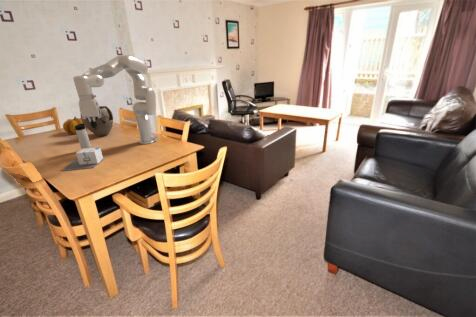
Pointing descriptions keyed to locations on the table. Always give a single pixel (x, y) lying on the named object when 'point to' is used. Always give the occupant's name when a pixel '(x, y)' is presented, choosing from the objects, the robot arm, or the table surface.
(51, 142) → the table surface
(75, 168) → the rubber mat
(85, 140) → the travel mug
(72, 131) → the decorative pumpkin
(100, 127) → the clay pot
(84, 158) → the ink box
